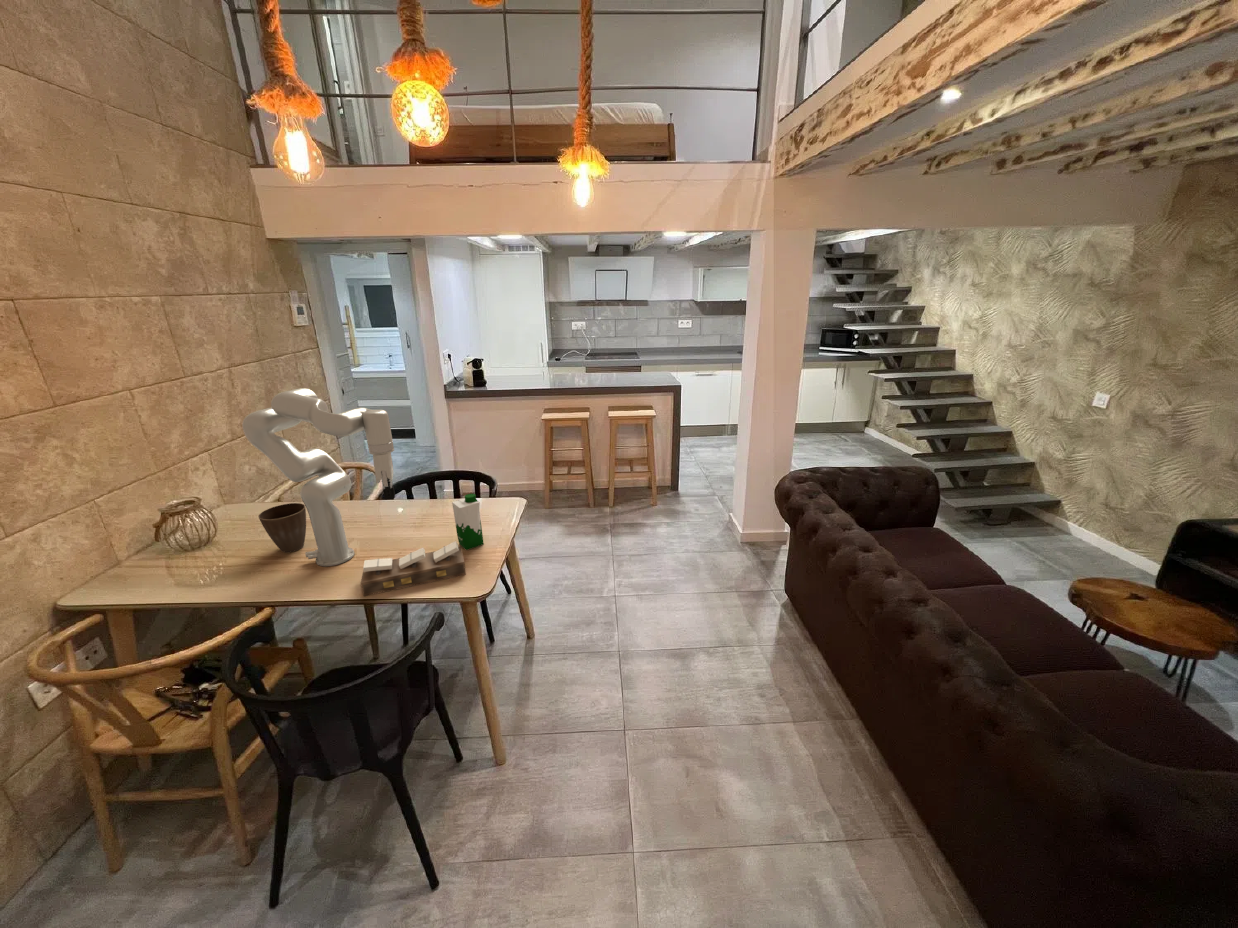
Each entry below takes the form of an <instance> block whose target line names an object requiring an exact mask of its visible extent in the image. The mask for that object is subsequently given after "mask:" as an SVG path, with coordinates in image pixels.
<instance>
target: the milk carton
mask: <svg viewBox="0 0 1238 928" xmlns="http://www.w3.org/2000/svg"><path fill="white" fill-rule="evenodd" d="M451 504H452V505H451V506H452V510H453V511H452V512H453V516H454V523H455V529H456V536H457V540H458V541H457V542H458V544H459V545H460V546H461V548H463V549H464V550H465V551H469V550H471V549H474V548H477V547H481V546H484V544H485V543H484V538H483V537H484V535H483V534H484V533H483V527H482V521H481V520H482V519H481V512H480V504H481V503H480V502H479V500H478V499H477V495H476V493H468V494H464V498H460V499H458V500H454V501H451Z"/></svg>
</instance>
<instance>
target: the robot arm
mask: <svg viewBox="0 0 1238 928" xmlns="http://www.w3.org/2000/svg"><path fill="white" fill-rule="evenodd" d="M301 422H306V423H310V424H312V426H313V427H314V428H315V429H316V430H317V431H319V432H320V433H323V434H327V435H330V436H335V437H344V438H345V437H349V436H352V435H354V434H357V433H361V432H363V431H365V432H364V433H365V437H366V443H367V447H368V452H369V455H372V460H373V462H372V463H373V467H374V474H375V482H376V483H377V484H379V483H381V484H382V491H383V497H384V500H393V499H395V497H396V493H395V487H394V484H393V479H394V465H393V458H392V452H394V451H395V448H394V447H395V446H394V441H393V436H392V429H391V424H390V416H389V413H388V411H386V410H384V409H371V408H366V407H355V408H351V409H349V410H345V411H343V412H339V413H333V412H329V407H328V404H327V402H326V401H325V400H323V399H321V398H319V397H318V395H317V394H316V393H315V392H314V391H313V390H311V389H310V388H304V387H300V388H296V389H289V390H285V391H282V392H279V393H277V394H275V395H274V396H273V397H272V398H271V402H270V407H267V408H264V409H259V410H256V411H253V412H250V413H249V414H247V415H246V416H245V417H244V418H243V420H242V425H241V426H242V431H243V433H244V437H245V438H246V440H247V441H248V442H249V443H250V444H251V445H252V446H253V447H254V448H256V450H258V451H260V452H261V453H262V454H263V455H264V456H266V458H268V459H269V460H270V461H271V462H272V463H273V465H275V467H277V468H278V470H279V471H280V472H281V473H282V474H283V475H284V476H285V477H287V479H289V481H291V482H293V483H300V482H304V481H306V480H309V479H310V480H309V481H307V482H306V483H305V484H303V485H302V487H301V489H300V494H299V495H300V499H301V500H302V502H303V504H304V505H305V509H306V510H307V511H306V512H307V513H308V517H309V519H310V520H309V521H310V523H311V527H312V530H313V531H312V532H313V535H314V539H315V543H316V546H317V549H315V550H311V551H305V552H304V553H305V558H308V560H313V559H315V563H316V565H318V566H320V567H332V566H337V565H341V564H343V563H345V562H348V561H350V560H351V559H352V558H353V557H354V556H355V549H354V548H352V547H349V544H348V541H347V539H348V538H347V534H346V531H345V527H344V522H343V518H342V514H341V511H340V509H339V508H338V507H337V506H336V505H335V504H334V503H333V502H334V500H336V499H337V498H339V497H342V496H343V495H344V494H347V493H348V492H349V491H350V490H351V488H352V481H351V478H350V476H349V474H348V473H346V471H345V470H343V468H342V467H341V466H340V465H339V464H338V463H337V462H336V460H335V459H334V458H332V456H330V454H329V453H327V452H326V451H324V449H323V450H322V449H321V448H310V449H306V450H303V451H301V450H299V449H298V448H297V447H295V445H294V444H293V443H292V442H291V441H290V440H288V439H286V438H285V437H282V436H280V435H277V434H275V433H277V432H278V433H279V432H280V431H284V430H287V429H291V428H294V427H296V426H297V425H299V424H300V423H301ZM315 476H317V477H316V478H313V477H315ZM311 478H313V479H311Z"/></svg>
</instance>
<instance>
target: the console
mask: <svg viewBox="0 0 1238 928" xmlns="http://www.w3.org/2000/svg"><path fill="white" fill-rule="evenodd" d="M462 548H463V547H462V546H461V545H460V546H458V549H459V551H457V552H455V553H453V554H451V555H449V556H447V557H446V558H444V559H442V560H440V561H438V562H435V561H434V555H433V553H434V552H436V551H437V550H436V551H430V552H429V551H428V552H425V558H423V559H421V560H419V561H417V562H415V563H413V564H411V565H409V566H407V567H405V568H403V569H401V568H400V567H399V559H400V558H401V557H399V558H394V559H393V558H392V569H387V570H376V571H364V572H363V571H362V575H361V580H360V587H361V590H362V595H363V597H366V596H372V595H377V594H380V593H386V592H390V591H394V590H395V591H396V590H400V589H404V588H408V587H409V588H410V587H414V586H417V585H418V586H419V585H423V584H428V583H432V582H437V581H441V580H447V579H450V578H455V577H461V576H465V575H466V574H467V573H466V572H467V571H466V566H465V565H466V564H465V557H464V554H463V549H462Z"/></svg>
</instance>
